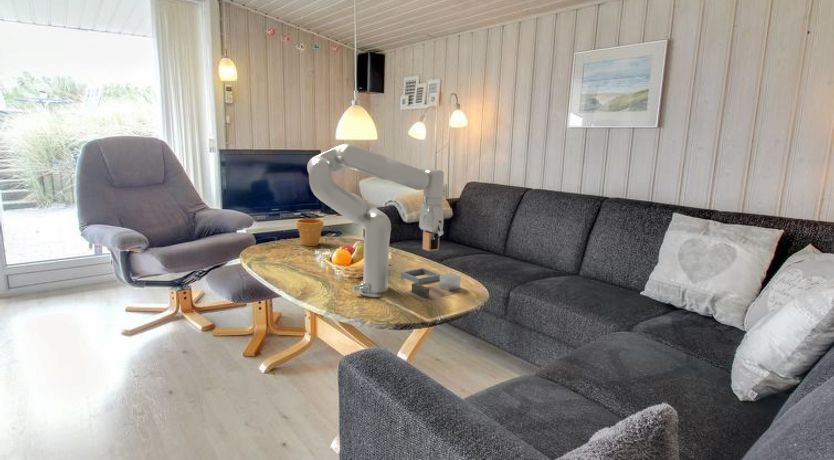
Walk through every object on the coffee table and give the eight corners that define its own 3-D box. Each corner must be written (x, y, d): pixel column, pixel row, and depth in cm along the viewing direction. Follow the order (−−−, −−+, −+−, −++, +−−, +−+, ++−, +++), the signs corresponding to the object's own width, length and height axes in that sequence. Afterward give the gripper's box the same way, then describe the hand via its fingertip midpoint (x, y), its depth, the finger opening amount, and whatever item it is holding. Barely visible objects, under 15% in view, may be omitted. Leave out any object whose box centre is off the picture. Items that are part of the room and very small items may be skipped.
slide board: (421, 305, 175) (422, 292, 174) (401, 296, 184) (402, 283, 183) (467, 294, 189) (468, 282, 188) (446, 286, 198) (447, 274, 197)
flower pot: (292, 246, 256) (291, 222, 254) (302, 240, 270) (302, 217, 268) (317, 248, 254) (317, 223, 252) (327, 242, 268) (327, 219, 265)
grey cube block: (448, 291, 187) (449, 278, 186) (439, 287, 191) (439, 274, 190) (460, 288, 191) (460, 276, 190) (450, 284, 195) (451, 272, 194)
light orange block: (428, 251, 187) (429, 233, 186) (422, 248, 191) (423, 231, 189) (438, 249, 190) (439, 232, 189) (432, 247, 193) (433, 230, 192)
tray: (418, 287, 195) (418, 279, 195) (400, 279, 204) (400, 271, 204) (440, 282, 203) (441, 274, 202) (422, 275, 212) (422, 267, 211)
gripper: (412, 199, 191) (410, 244, 195) (438, 205, 178) (435, 253, 182) (427, 198, 196) (425, 242, 199) (454, 204, 182) (451, 251, 186)
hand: (430, 247), depth 190 cm, fingers closed on light orange block, 4 cm apart
